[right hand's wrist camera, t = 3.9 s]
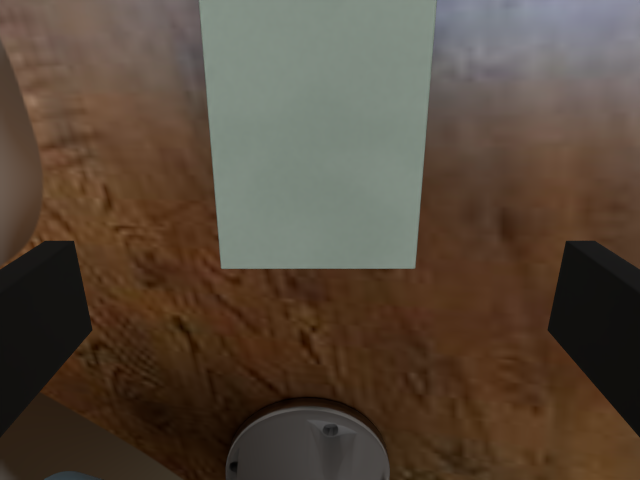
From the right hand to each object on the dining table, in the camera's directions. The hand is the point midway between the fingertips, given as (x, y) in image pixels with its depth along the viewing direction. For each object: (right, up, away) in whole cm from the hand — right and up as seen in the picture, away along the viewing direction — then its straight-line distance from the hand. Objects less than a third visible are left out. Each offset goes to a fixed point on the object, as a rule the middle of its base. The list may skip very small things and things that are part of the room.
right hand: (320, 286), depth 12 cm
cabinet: (0, +12, +19) cm, 23 cm away
